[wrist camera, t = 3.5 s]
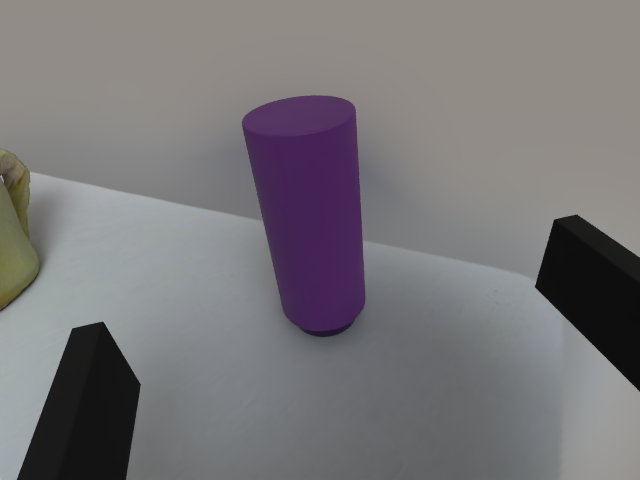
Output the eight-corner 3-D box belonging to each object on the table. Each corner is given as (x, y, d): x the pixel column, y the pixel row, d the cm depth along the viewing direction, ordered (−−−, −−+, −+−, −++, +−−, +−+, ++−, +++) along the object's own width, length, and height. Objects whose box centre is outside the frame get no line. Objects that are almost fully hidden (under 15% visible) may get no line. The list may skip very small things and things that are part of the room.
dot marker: (383, 310, 22) (379, 105, 15) (323, 360, 20) (290, 145, 13) (326, 275, 25) (304, 89, 18) (269, 315, 22) (219, 120, 16)
